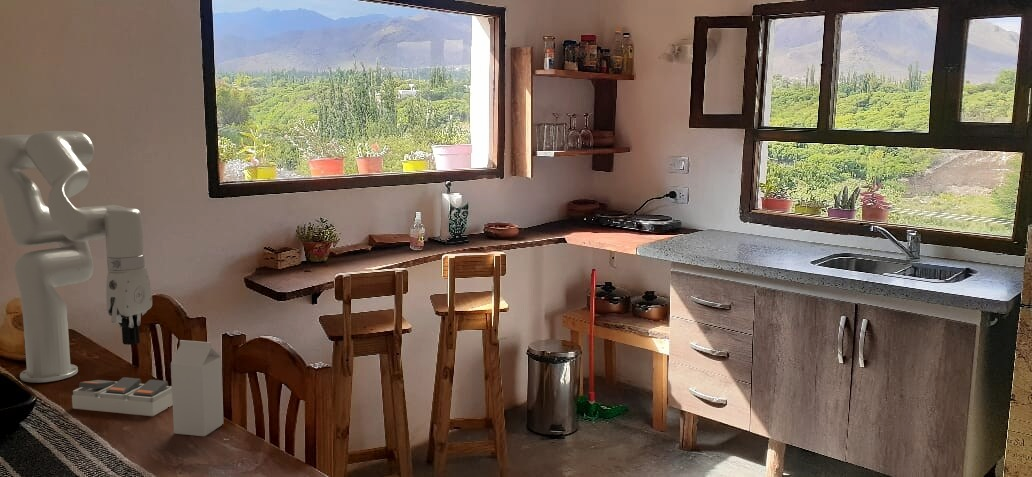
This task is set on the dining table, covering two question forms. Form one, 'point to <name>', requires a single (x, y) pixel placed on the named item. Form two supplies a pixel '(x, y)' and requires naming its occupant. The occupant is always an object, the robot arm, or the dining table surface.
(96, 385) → the rocker
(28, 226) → the robot arm
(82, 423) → the dining table surface
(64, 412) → the dining table surface
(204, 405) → the milk carton
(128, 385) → the rocker
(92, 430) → the dining table surface
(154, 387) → the rocker
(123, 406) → the rocker switch box
